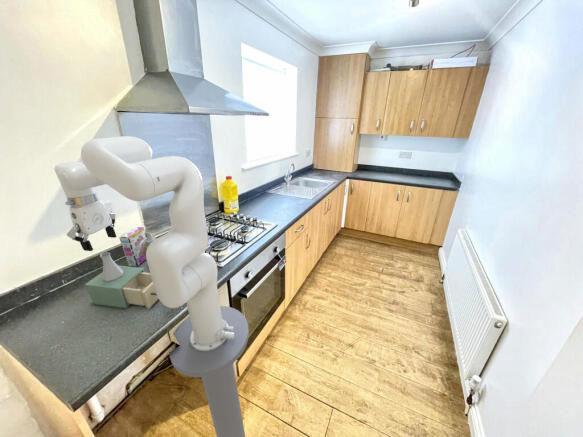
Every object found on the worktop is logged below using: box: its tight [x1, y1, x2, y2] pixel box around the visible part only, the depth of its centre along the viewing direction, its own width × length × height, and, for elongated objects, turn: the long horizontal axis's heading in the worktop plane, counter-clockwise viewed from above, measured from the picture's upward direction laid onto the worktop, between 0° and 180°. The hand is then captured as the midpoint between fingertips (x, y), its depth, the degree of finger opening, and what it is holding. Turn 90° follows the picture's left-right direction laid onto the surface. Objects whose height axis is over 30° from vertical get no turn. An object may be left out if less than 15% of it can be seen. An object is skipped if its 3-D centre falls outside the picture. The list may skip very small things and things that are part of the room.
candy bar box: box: [118, 226, 147, 268], centre depth 115 cm, size 11×5×16 cm, turn 177°
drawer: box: [121, 272, 159, 309], centre depth 92 cm, size 20×11×8 cm, turn 81°
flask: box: [99, 251, 124, 282], centre depth 90 cm, size 7×7×10 cm
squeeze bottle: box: [144, 231, 157, 263], centre depth 111 cm, size 8×8×18 cm
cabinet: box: [84, 264, 146, 309], centre depth 94 cm, size 15×13×10 cm
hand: (101, 243), depth 86 cm, fingers open, 9 cm apart
